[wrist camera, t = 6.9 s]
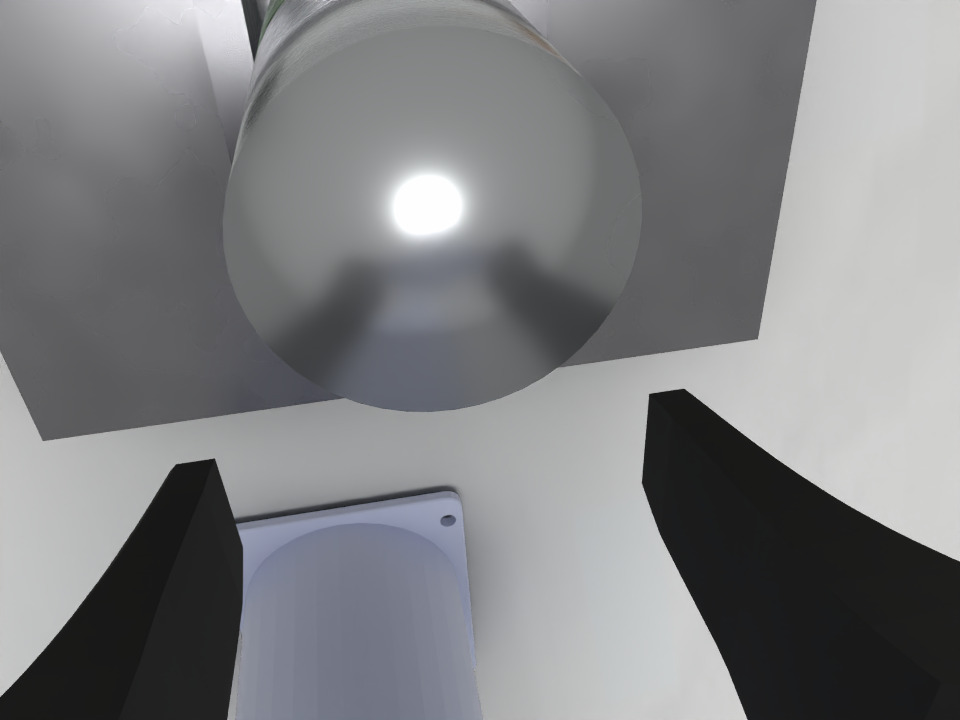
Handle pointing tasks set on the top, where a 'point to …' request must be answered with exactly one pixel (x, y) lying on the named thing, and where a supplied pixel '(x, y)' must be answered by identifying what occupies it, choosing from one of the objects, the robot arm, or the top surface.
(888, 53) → the top surface
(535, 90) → the grey cylindrical jar
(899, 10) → the top surface
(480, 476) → the top surface
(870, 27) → the top surface
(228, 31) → the post base
